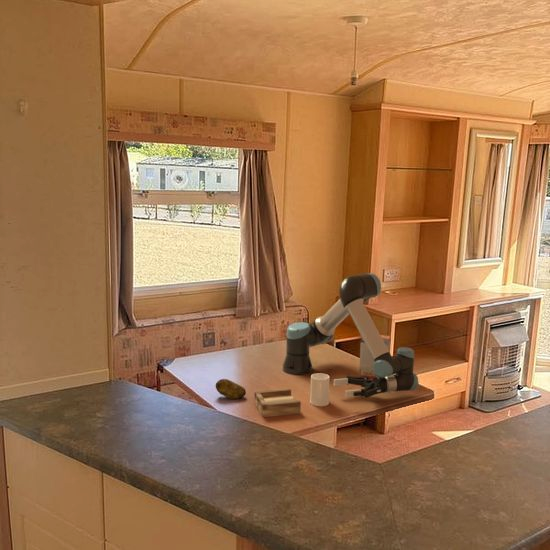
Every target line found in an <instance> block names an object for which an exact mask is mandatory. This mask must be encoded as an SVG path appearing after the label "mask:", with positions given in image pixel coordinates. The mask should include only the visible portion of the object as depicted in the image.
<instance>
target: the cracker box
mask: <svg viewBox="0 0 550 550" xmlns="http://www.w3.org/2000/svg"><path fill="white" fill-rule="evenodd" d="M380 336H381V338H382V339H383V341H384V343H385V345H386V347H387V349H388V351H389V352H390V353H391V337H392V336H391V335H384V334H380ZM359 345H360V349H359V370H358V371H359V373H358V374H359V376H358V377H360V376H361V377H369V378H370V379H374V377H375V376H377V375H376V374H375V372H374V368H373V366H374V363H375V361H374V359H373V357H372V355H371V353H370V351H369V349H368V347H367V346H366V344H365V342H364V340H363V338H362V336H361V335H360V344H359Z"/></svg>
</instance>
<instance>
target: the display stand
mask: <svg viewBox="0 0 550 550" xmlns="http://www.w3.org/2000/svg"><path fill="white" fill-rule="evenodd" d="M254 404H255V406H256V408H257V410H258V411H259V412H260V415H261V417H262V418H268V417H278V416H289V415H297V414H301V411H302V410H301V407H302V406H301V405H302V403H301V400H296V398H294V396H293V395H292V389H291V388H285V389H284V388H282V389H273V390H262V391H254Z"/></svg>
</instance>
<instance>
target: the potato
mask: <svg viewBox="0 0 550 550" xmlns="http://www.w3.org/2000/svg"><path fill="white" fill-rule="evenodd" d="M215 389H216V391H217V392H218V393H219V395H222V396H224V397H225V398H227V399H230V400H231V399H232V400H237V399H238V400H239V399H241V398H243V397H245V395H246V394H247V391H246V388H245V387H243V386H242V385H241V384H239V383H236V382H234V381H232V380H230V379H227V378H222V379H219V380H217V382H216V383H215Z"/></svg>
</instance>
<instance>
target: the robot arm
mask: <svg viewBox="0 0 550 550" xmlns="http://www.w3.org/2000/svg"><path fill="white" fill-rule="evenodd" d="M381 291H382V284H381V279H380V278H379V277H378V276H377V275H376V274H374V273H372V272H370V273H368V272H365V273H360V274H354V275H348V276H346V277H345V278H344V279H343V280H342V281H341V282H340V285H339V287H338V293H339V294H338V295H339V299H338V300H337V301H336V302H335V303H334V304H333V305H332V306H331V307H330V308H329V309H328V310H327V311H326V313H324V315H321V316H317V317H316V318H315V320H314V321H312V322H311V323H308V322H306V321H305V322H301V321H300V322H294V323H292V324H290V325H288V326H287V328H286V336H285V337H286V347H285V348H286V353H285V354H286V355H285V356H284V360H283V363H282V371H283V372H285V373H287V374H290V375H291V374H292V375H307V374H309V373H311V372H313V363H312V360H311V356H310V348H312V347H316V346H320V345H325V344H327V343H329V342H331V341H332V340H333V338H334V337H335V334H334V333H335V332H336V328H337V327H338V326H339V325H340V324H341V323H342V322H343V321H344V320H345V319H346V318H347V317H348V316H349V315H350V317H351V319H352V321H353V323H354V324H355V327H356V328H357V329H356V330H358V332H359V334H360V337H361V336H362V338H363V340H364V342H365V344H366V346H367V347H368V349H369V351H370V353H371V355H372V357H373V359H374V361H375V363H374V366H373V368H374V372H375V374H376V375H377V376H375V377H374V378H372V379H369V377H360V376H355V375H354V376H351V375H346V378H345V377H344V378H335V379H333V386H334V387H335V386H348V385H355V386H360V387H361V389H359V388H358V389H349V390H348V389H347V390H345V398H352V397H353V398H354V397H363V398H364V399H367V398H370V397H372V396H375V395H378V394H385V393H389V394H391V393H394V392H408V391H413V390H416V389H417V388H419V382H420V381H419V378H418V375H417V374H416V373H414V365H415V351H414V349H413V348H411V347H405V346H404V347H402V346H401V347H398V348H397V350H396V354H395V355H391V351H390V352H389V351H388V349H387V347H386V345H385V343H384V341H383V339H382V338H381V336H380V335H381V334H380V332H379V330H378V328H377V326H376V325H375V323H374V321H373V318H372V317H371V315H370V313H369V312H368V309H367V308H366V306H365V304H367V302H368V301H369V300H370V299H371V298H376V297H378V296H379V295H380V294H381Z"/></svg>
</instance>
